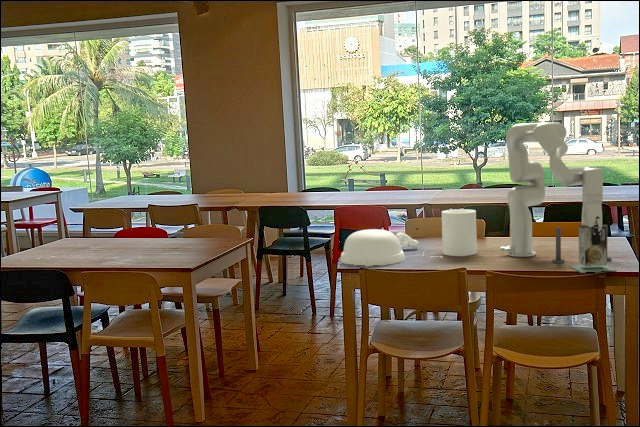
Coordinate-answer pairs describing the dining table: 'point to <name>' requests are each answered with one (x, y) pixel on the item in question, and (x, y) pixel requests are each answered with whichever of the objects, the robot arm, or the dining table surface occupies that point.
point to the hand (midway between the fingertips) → (592, 242)
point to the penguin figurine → (406, 241)
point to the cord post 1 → (558, 247)
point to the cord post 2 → (606, 240)
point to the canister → (459, 232)
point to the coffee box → (592, 247)
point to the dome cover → (372, 248)
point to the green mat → (592, 268)
